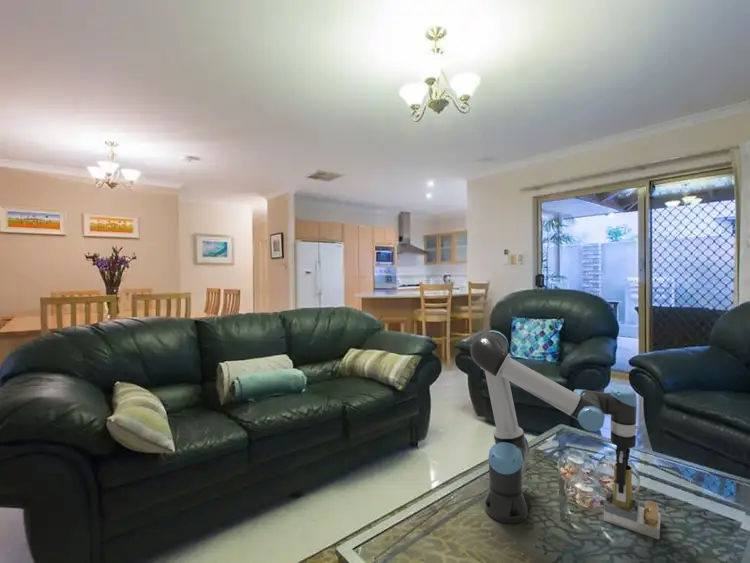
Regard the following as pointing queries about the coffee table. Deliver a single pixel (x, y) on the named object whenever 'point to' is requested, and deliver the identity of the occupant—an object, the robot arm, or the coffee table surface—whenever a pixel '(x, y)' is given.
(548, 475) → the coffee table surface
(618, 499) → the robot arm
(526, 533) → the coffee table surface
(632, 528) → the white holder stand
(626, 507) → the vase
